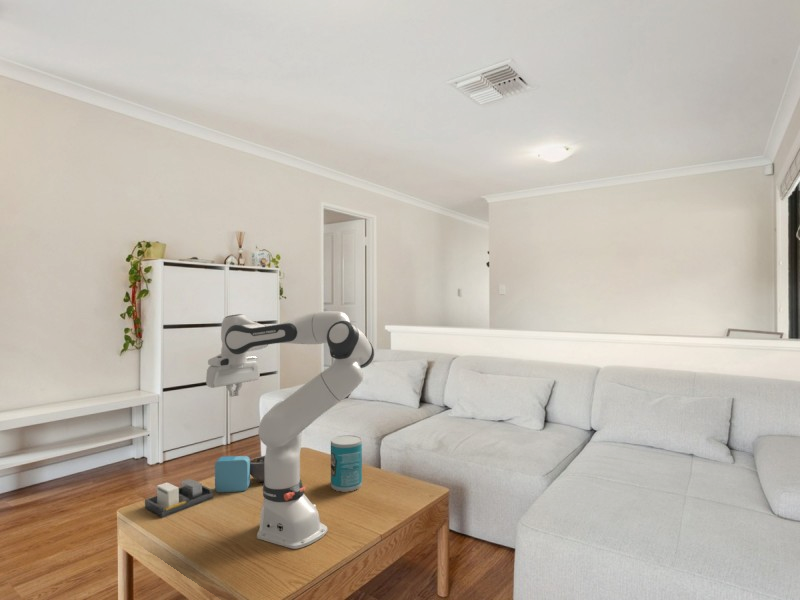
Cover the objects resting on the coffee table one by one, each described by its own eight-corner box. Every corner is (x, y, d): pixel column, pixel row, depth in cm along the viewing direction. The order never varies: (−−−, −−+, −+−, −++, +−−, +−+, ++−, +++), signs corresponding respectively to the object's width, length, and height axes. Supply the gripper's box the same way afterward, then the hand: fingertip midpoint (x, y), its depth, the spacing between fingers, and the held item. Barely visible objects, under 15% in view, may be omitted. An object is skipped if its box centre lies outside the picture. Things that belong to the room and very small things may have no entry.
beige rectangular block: (178, 506, 158) (178, 487, 158) (168, 510, 155) (168, 491, 155) (167, 500, 163) (167, 482, 163) (157, 504, 160) (156, 485, 160)
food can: (325, 489, 174) (324, 442, 174) (340, 477, 185) (340, 433, 185) (352, 494, 169) (352, 446, 169) (367, 482, 180) (367, 436, 180)
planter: (243, 485, 178) (242, 434, 178) (267, 469, 194) (267, 422, 194) (276, 489, 174) (276, 437, 173) (298, 473, 190) (298, 425, 189)
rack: (213, 498, 166) (213, 482, 166) (162, 518, 152) (161, 500, 152) (195, 490, 174) (195, 474, 174) (145, 508, 159) (144, 491, 159)
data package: (250, 486, 177) (250, 455, 177) (247, 491, 173) (247, 459, 172) (218, 487, 176) (218, 456, 176) (214, 492, 171) (214, 461, 171)
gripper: (252, 354, 178) (253, 390, 178) (203, 360, 162) (203, 399, 162) (263, 356, 174) (263, 392, 174) (213, 362, 158) (213, 402, 158)
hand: (234, 395), depth 168 cm, fingers closed
